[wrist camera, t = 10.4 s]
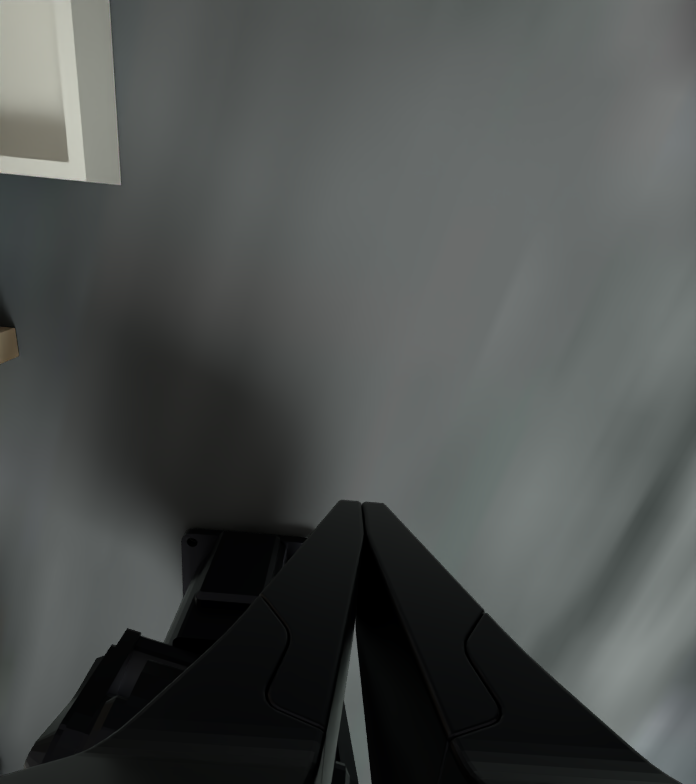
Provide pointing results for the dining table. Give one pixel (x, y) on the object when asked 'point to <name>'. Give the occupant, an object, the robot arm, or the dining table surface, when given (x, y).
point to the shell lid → (58, 91)
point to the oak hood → (8, 344)
